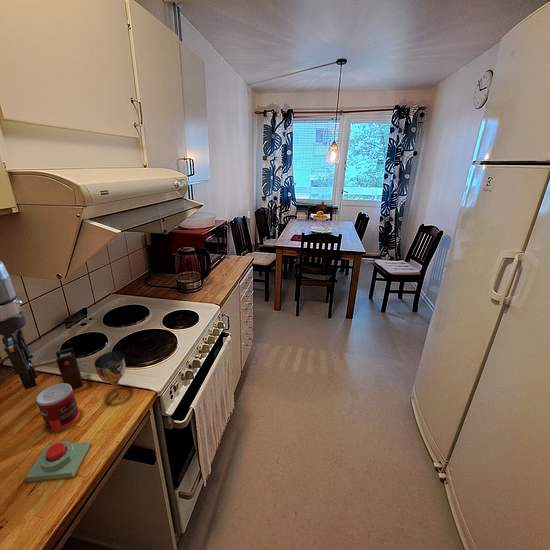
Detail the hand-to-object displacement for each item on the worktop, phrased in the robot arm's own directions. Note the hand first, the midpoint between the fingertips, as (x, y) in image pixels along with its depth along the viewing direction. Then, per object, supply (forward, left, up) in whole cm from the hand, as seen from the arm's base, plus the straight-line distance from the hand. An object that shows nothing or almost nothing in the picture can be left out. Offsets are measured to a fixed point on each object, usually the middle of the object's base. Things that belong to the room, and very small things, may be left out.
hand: (31, 382), depth 86 cm
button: (+18, -22, -4) cm, 29 cm away
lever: (+4, +2, +3) cm, 6 cm away
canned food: (+12, -9, -8) cm, 17 cm away
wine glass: (+24, -1, -8) cm, 26 cm away
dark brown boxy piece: (+8, +5, -7) cm, 12 cm away
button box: (+18, -22, -7) cm, 30 cm away
